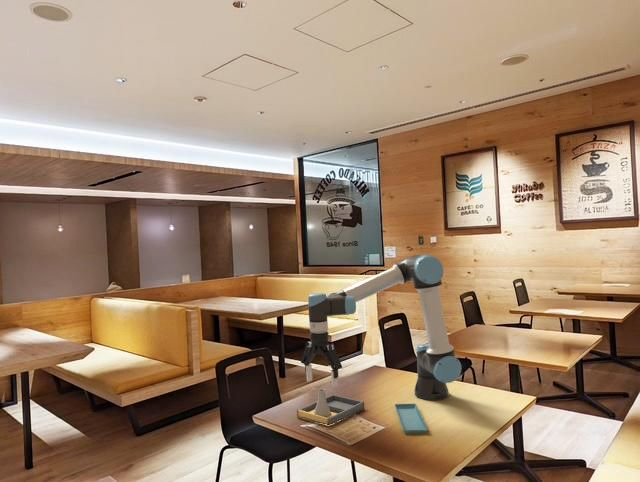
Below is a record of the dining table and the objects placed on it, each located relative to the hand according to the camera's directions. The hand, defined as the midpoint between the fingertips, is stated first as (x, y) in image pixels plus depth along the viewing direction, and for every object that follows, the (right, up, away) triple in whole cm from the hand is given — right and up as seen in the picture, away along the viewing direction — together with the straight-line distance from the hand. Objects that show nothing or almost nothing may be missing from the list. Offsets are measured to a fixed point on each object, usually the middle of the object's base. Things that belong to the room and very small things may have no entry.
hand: (321, 383), depth 186 cm
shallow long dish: (+35, -13, -7) cm, 38 cm away
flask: (0, -13, 0) cm, 13 cm away
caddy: (+4, -14, +4) cm, 15 cm away
